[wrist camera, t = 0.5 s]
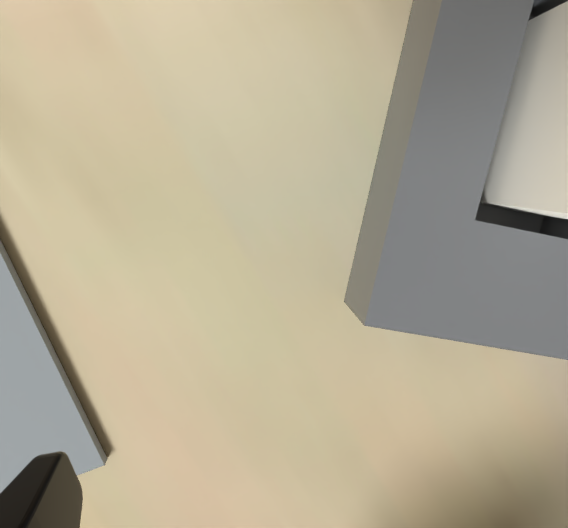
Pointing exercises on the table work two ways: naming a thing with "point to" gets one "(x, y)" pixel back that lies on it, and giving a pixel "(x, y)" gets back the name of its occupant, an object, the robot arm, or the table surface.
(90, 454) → the slate mat
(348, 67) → the table surface
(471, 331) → the holder box
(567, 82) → the white flat block
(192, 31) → the table surface
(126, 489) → the table surface
